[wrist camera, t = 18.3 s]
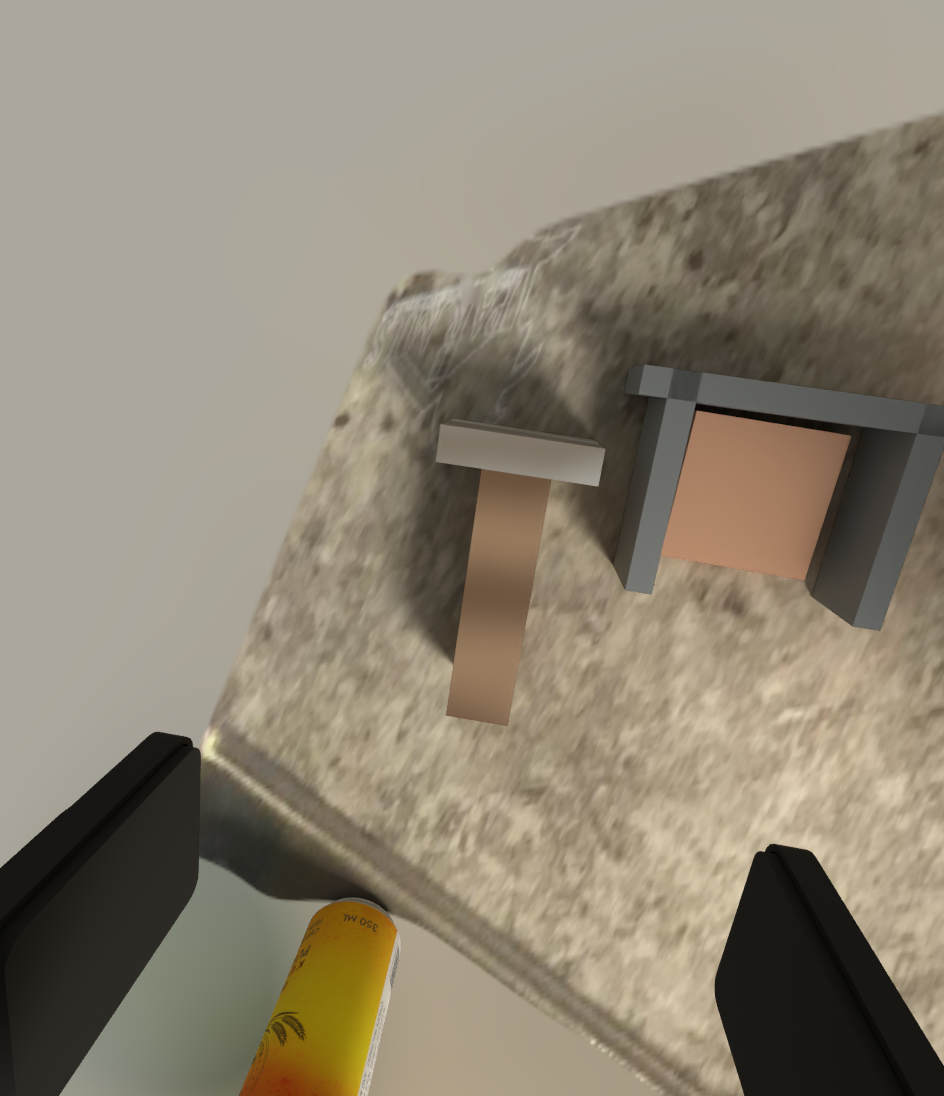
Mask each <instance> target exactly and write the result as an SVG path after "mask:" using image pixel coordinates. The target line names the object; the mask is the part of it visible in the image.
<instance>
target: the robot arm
mask: <svg viewBox="0 0 944 1096" xmlns="http://www.w3.org/2000/svg"><path fill="white" fill-rule="evenodd" d="M200 766H201V754H200V750H199V749H198V748H194V747H193V743H192V741H191V739H190V738H188V737H184V736H179V735H173V734H168V733H162V732H154V733H152V734H151V735H149V736H148V737H147V738H146V739H145V740H144V741H143V742H141V743H140V744H139V745H138V746H137V747H136V748H135V749H134V750H133V751H132V752H130V753H129V754H128V755H127V756H126V757H125V758H124V759H123V760H122V761H121V762H119V763H118V764H117V765H116V766H115V767H114V768H113V769H112V770H111V771H109V772H108V773H107V774H106V775H105V776H104V777H103V778H102V779H101V780H99V781H98V782H97V783H96V784H95V785H94V786H93V787H92V788H91V789H90V790H89V791H87V793H85V794H84V795H83V796H82V797H81V798H80V799H79V800H77V801H76V802H75V803H74V804H73V805H72V806H71V807H69V808H68V809H67V810H65V811H64V812H62V813H61V814H60V815H59V816H58V817H57V818H55V820H54V821H52V822H51V823H50V824H49V825H48V826H47V827H45V828H44V829H43V830H42V831H41V832H40V833H39V834H38V835H37V836H35V837H34V838H33V839H32V840H31V841H30V842H29V843H28V844H27V845H25V846H24V847H23V848H22V849H21V850H20V851H19V852H18V853H17V854H16V855H14V856H13V857H12V858H11V859H10V860H9V861H8V862H7V863H6V864H4V865H3V866H2V867H1V868H0V1096H59V1095H60V1093H61V1092H62V1090H63V1089H64V1087H65V1086H66V1084H67V1083H68V1081H69V1080H70V1078H71V1077H72V1075H73V1074H74V1072H75V1071H76V1069H77V1068H78V1066H79V1065H80V1063H81V1062H82V1060H83V1059H84V1057H85V1056H86V1054H87V1053H88V1051H89V1050H90V1048H91V1047H92V1045H93V1044H94V1042H95V1041H96V1039H97V1038H98V1036H99V1035H100V1033H101V1032H102V1030H103V1029H104V1027H105V1026H106V1024H107V1023H108V1021H109V1020H110V1018H111V1017H112V1015H113V1014H114V1013H115V1011H116V1010H117V1008H118V1006H119V1005H120V1004H121V1002H122V1001H123V999H124V997H125V996H126V994H127V993H128V992H129V990H130V989H131V987H132V985H133V984H134V982H135V981H136V979H137V978H138V977H139V975H140V974H141V972H142V971H143V969H144V968H145V966H146V965H147V963H148V961H149V960H150V959H151V957H152V956H153V954H154V953H155V951H156V949H157V948H158V947H159V945H160V944H161V942H162V941H163V939H164V938H165V936H166V935H167V933H168V932H169V930H170V929H171V927H172V926H173V924H174V923H175V921H176V920H177V918H178V917H179V915H180V914H181V912H182V911H183V909H184V908H185V906H186V905H187V903H188V902H189V900H190V898H191V897H192V894H193V892H194V890H195V887H196V884H197V880H198V868H199V867H198V866H199V818H200ZM715 998H716V1003H717V1007H718V1010H719V1013H720V1017H721V1020H722V1023H723V1027H724V1030H725V1033H726V1036H727V1040H728V1043H729V1046H730V1050H731V1053H732V1056H733V1059H734V1063H735V1066H736V1069H737V1073H738V1076H739V1079H740V1082H741V1086H742V1089H743V1092H744V1096H944V1065H943V1064H942V1062H941V1061H940V1059H939V1057H938V1056H937V1054H936V1052H935V1051H934V1049H933V1048H932V1046H931V1044H930V1043H929V1041H928V1039H927V1038H926V1036H925V1034H924V1033H923V1031H922V1030H921V1028H920V1026H919V1025H918V1023H917V1021H916V1020H915V1018H914V1017H913V1015H912V1013H911V1012H910V1010H909V1008H908V1007H907V1005H906V1003H905V1002H904V1000H903V999H902V997H901V995H900V994H899V992H898V990H897V989H896V987H895V986H894V984H893V982H892V981H891V979H890V977H889V976H888V974H887V972H886V971H885V969H884V968H883V966H882V964H881V963H880V961H879V959H878V958H877V956H876V955H875V953H874V951H873V950H872V948H871V946H870V945H869V943H868V941H867V940H866V938H865V937H864V935H863V933H862V932H861V930H860V928H859V927H858V925H857V924H856V922H855V920H854V919H853V917H852V915H851V914H850V912H849V910H848V909H847V907H846V906H845V904H844V902H843V901H842V899H841V897H840V896H839V894H838V893H837V891H836V889H835V888H834V886H833V884H832V883H831V881H830V879H829V878H828V876H827V875H826V873H825V871H824V870H823V868H822V866H821V865H820V863H819V862H818V860H817V858H816V857H815V856H814V854H813V853H812V852H810V851H808V850H805V849H799V848H794V847H788V846H783V845H777V844H770V845H769V846H768V847H767V848H766V850H765V852H762V851H759V852H757V853H756V854H755V857H754V859H753V862H752V865H751V868H750V871H749V874H748V877H747V881H746V884H745V887H744V890H743V893H742V896H741V899H740V902H739V905H738V908H737V912H736V915H735V918H734V921H733V924H732V927H731V930H730V933H729V936H728V939H727V943H726V946H725V949H724V952H723V955H722V958H721V961H720V964H719V967H718V970H717V974H716V978H715Z"/></svg>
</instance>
